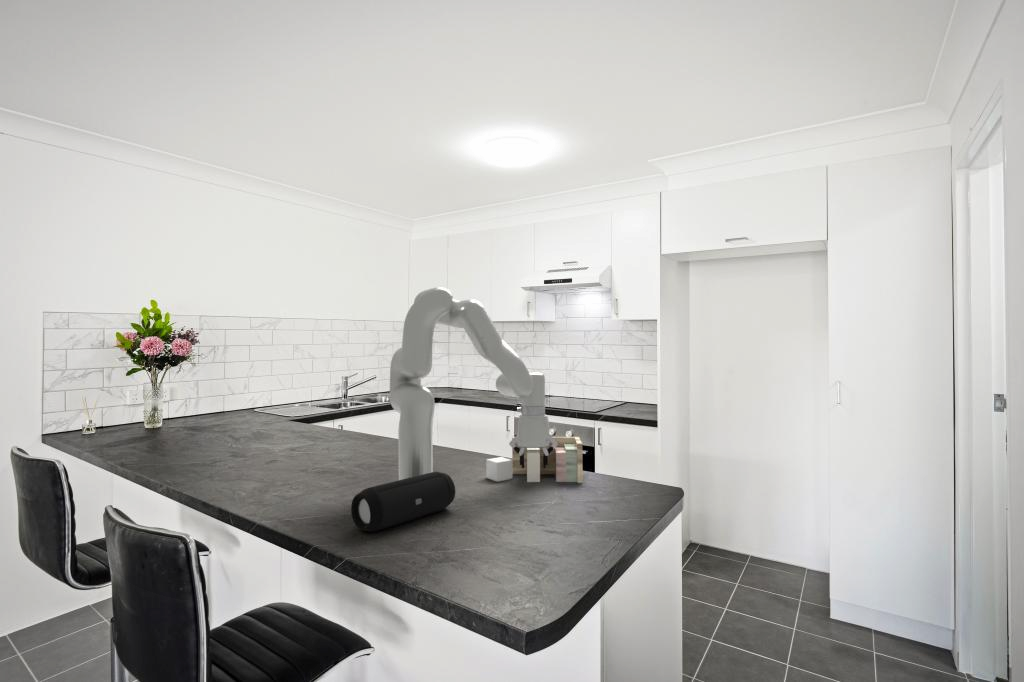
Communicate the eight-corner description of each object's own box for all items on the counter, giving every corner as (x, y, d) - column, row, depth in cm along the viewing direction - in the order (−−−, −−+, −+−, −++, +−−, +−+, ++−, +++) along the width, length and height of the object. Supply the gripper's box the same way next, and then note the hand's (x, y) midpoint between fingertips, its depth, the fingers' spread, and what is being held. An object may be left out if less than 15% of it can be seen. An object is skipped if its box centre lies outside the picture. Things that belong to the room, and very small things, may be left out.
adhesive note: (496, 482, 165) (496, 462, 165) (486, 478, 170) (486, 459, 170) (512, 478, 169) (512, 459, 169) (501, 475, 174) (501, 456, 174)
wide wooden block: (582, 482, 163) (582, 443, 163) (511, 482, 164) (510, 443, 164) (579, 473, 175) (578, 436, 175) (512, 472, 176) (512, 436, 176)
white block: (540, 482, 165) (539, 453, 165) (527, 482, 165) (526, 453, 165) (539, 474, 174) (539, 447, 174) (527, 474, 174) (527, 447, 174)
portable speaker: (373, 539, 118) (373, 494, 118) (348, 529, 124) (348, 486, 124) (457, 511, 137) (457, 472, 137) (432, 504, 143) (432, 467, 143)
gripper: (505, 412, 166) (506, 470, 166) (561, 412, 165) (561, 470, 165) (506, 409, 173) (507, 464, 173) (559, 409, 173) (560, 464, 173)
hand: (533, 466), depth 169 cm, fingers open, 6 cm apart
